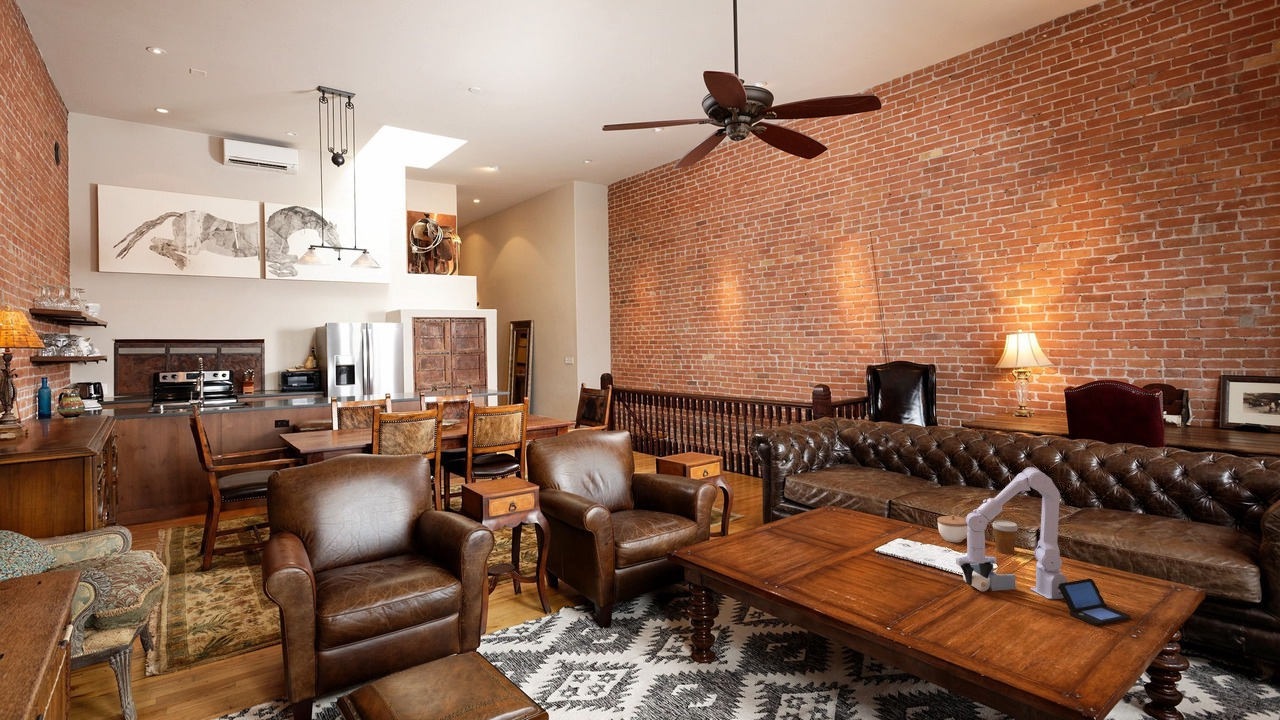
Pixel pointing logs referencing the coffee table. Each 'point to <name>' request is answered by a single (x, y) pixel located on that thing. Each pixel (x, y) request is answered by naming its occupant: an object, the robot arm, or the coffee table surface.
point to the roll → (979, 581)
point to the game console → (1089, 603)
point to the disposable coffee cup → (1005, 536)
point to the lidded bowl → (952, 528)
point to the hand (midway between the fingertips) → (976, 583)
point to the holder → (998, 579)
